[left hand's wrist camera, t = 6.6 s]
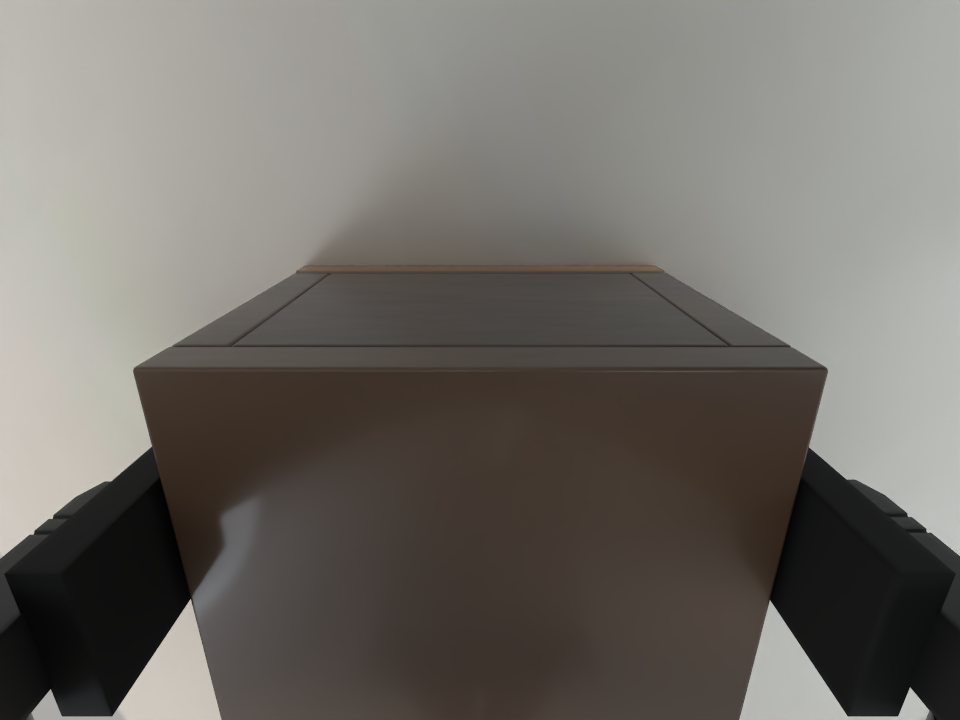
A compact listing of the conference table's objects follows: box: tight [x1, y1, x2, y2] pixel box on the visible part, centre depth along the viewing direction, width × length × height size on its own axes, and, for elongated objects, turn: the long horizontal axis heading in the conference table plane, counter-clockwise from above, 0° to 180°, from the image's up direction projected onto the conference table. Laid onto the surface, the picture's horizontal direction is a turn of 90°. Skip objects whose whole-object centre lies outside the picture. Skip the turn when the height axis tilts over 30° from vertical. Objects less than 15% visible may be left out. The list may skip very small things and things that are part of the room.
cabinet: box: [133, 266, 828, 720], centre depth 14 cm, size 13×11×8 cm
